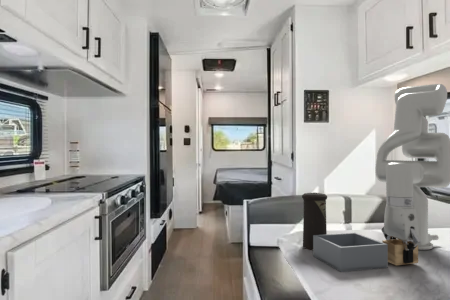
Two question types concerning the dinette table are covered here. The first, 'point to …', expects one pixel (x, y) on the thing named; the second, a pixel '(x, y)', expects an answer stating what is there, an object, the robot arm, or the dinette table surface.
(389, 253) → the wooden crate
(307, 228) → the container
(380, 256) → the grey crate
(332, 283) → the dinette table surface
